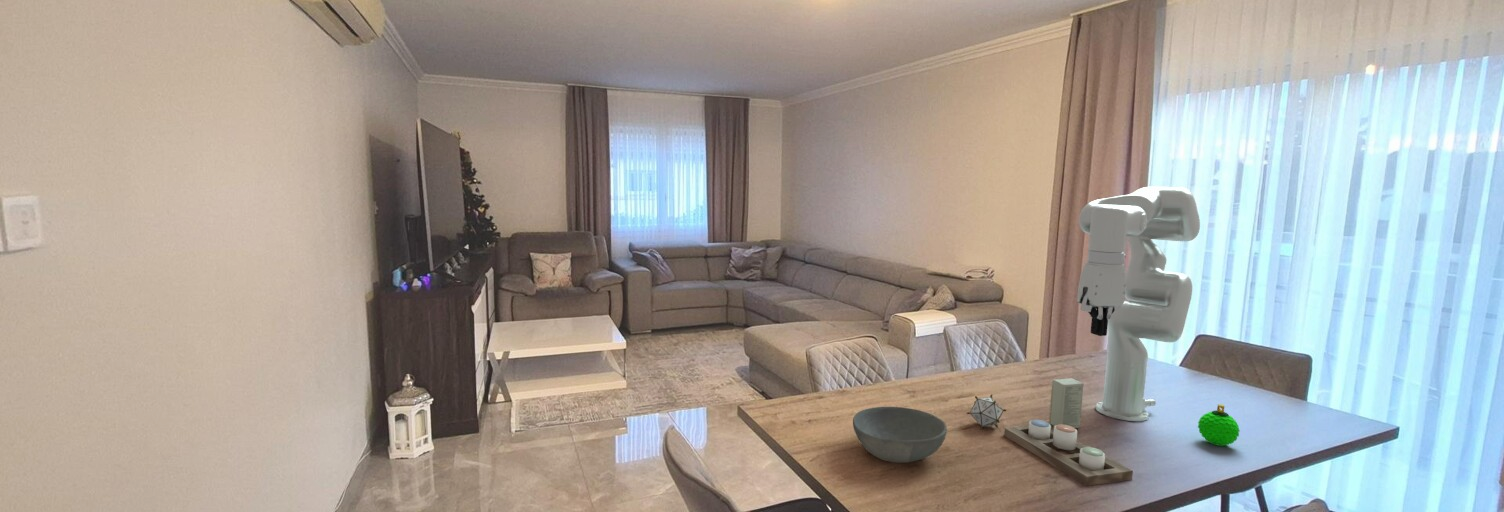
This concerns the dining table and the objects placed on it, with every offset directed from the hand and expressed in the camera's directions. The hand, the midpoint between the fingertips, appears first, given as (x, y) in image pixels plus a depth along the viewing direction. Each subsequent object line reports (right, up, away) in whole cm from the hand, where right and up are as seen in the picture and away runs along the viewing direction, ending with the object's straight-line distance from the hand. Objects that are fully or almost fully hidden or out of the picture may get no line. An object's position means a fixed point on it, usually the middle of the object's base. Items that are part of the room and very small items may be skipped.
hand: (1098, 334), depth 146 cm
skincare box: (-1, -26, +13) cm, 29 cm away
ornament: (+31, -28, +4) cm, 42 cm away
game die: (-23, -26, +12) cm, 36 cm away
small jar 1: (-13, -26, +3) cm, 29 cm away
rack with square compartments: (-11, -28, -5) cm, 30 cm away
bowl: (-50, -27, -6) cm, 57 cm away
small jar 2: (-11, -25, -5) cm, 28 cm away
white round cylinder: (-9, -28, -12) cm, 32 cm away
